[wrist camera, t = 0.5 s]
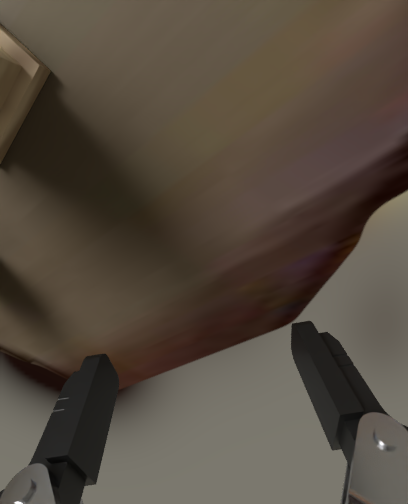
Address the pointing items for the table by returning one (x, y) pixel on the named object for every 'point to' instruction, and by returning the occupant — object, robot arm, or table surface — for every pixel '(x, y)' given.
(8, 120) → the post
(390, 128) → the table surface
